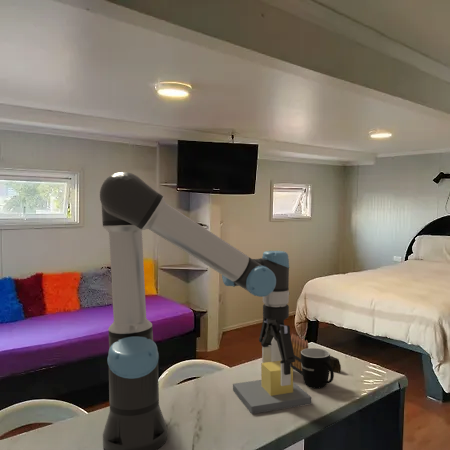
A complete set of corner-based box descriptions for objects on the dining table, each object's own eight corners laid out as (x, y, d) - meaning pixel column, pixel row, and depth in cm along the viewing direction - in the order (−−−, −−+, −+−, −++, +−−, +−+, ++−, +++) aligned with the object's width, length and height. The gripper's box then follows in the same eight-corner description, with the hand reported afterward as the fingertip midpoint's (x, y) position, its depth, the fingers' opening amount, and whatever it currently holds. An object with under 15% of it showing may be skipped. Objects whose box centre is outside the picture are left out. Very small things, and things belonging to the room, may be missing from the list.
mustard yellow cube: (270, 395, 123) (270, 371, 123) (261, 386, 129) (261, 363, 129) (293, 392, 125) (292, 368, 125) (283, 383, 132) (282, 360, 131)
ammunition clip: (310, 376, 141) (310, 340, 141) (305, 377, 141) (305, 341, 140) (293, 365, 151) (293, 331, 151) (289, 366, 151) (288, 332, 150)
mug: (295, 382, 136) (294, 351, 136) (316, 376, 141) (316, 346, 141) (321, 396, 126) (321, 362, 126) (343, 389, 131) (343, 356, 130)
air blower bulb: (292, 370, 147) (292, 317, 146) (280, 377, 141) (279, 322, 141) (274, 364, 152) (273, 314, 152) (260, 371, 146) (260, 318, 146)
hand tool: (296, 359, 159) (296, 346, 158) (305, 356, 161) (305, 344, 160) (334, 376, 142) (334, 362, 142) (343, 373, 144) (343, 359, 144)
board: (251, 414, 116) (251, 390, 116) (232, 390, 132) (232, 369, 131) (311, 404, 122) (311, 381, 121) (286, 382, 137) (286, 362, 137)
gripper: (307, 312, 115) (307, 391, 116) (270, 295, 139) (270, 360, 140) (282, 315, 113) (281, 394, 114) (248, 296, 137) (248, 362, 138)
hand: (275, 376), depth 127 cm, fingers open, 13 cm apart
